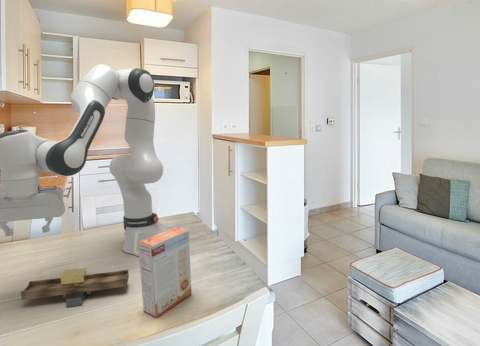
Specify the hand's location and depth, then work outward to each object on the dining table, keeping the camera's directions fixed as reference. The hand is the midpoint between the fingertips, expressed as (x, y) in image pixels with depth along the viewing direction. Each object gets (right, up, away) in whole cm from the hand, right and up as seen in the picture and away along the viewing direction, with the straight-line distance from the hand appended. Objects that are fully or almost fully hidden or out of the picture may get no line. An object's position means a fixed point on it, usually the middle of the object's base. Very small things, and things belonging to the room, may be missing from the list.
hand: (28, 233), depth 89 cm
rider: (+12, -16, +3) cm, 20 cm away
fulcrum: (+13, -20, +4) cm, 24 cm away
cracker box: (+41, -20, 0) cm, 46 cm away
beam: (+13, -17, +3) cm, 22 cm away
